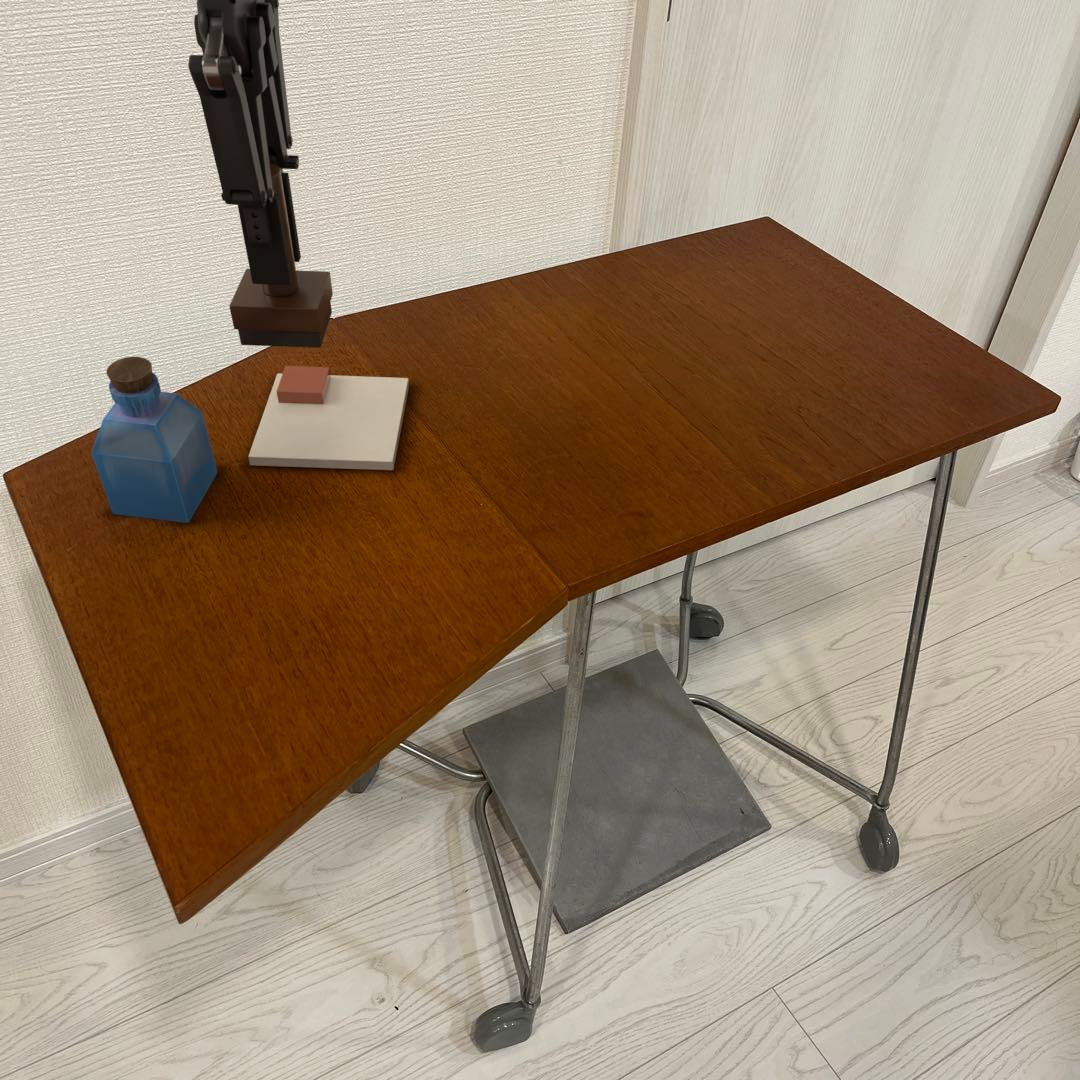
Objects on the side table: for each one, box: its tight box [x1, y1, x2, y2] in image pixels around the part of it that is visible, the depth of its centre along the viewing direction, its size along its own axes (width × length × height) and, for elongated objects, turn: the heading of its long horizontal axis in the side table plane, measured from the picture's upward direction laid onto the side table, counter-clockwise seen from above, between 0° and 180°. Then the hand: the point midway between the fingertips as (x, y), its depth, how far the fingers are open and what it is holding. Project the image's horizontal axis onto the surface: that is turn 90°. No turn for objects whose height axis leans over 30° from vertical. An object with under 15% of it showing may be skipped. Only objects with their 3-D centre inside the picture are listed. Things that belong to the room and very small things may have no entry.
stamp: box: [229, 163, 334, 349], centre depth 73 cm, size 6×5×12 cm
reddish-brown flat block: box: [277, 365, 332, 404], centre depth 90 cm, size 4×4×1 cm
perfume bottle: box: [91, 356, 219, 524], centre depth 78 cm, size 6×6×12 cm
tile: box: [248, 372, 410, 471], centre depth 88 cm, size 12×12×1 cm
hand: (277, 269), depth 74 cm, fingers closed on stamp, 3 cm apart
